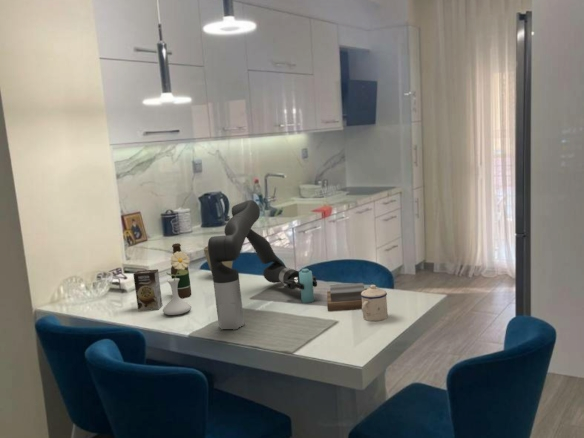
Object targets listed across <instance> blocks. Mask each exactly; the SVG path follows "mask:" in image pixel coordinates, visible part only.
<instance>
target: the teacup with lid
mask: <svg viewBox="0 0 584 438" xmlns="http://www.w3.org/2000/svg"><path fill="white" fill-rule="evenodd" d="M387 295H388V294H387V291H386V290H385V289H383V288H382V289H381V288H379V287H377V285H375V284H371V285H370V286H369V287H368V288H367V290H364V291H363V292H362V293H361V297H362V309H361V312H362V318H363V319H364V320H366V321H369V322H381V321H384V320H386V319H387V318H388V317H389V316H388V301H387Z"/></svg>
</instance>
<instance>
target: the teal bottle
mask: <svg viewBox="0 0 584 438" xmlns="http://www.w3.org/2000/svg"><path fill="white" fill-rule="evenodd" d="M312 275H313V271H312V270H309V268H302V269H301V270H300V271H299V280H300V283H302V284H303V285H304V290H301V289H299V291H300V298H301V303H304V304H309V303H313V302H315V293H314V292H315V291H314V286H313V279H312Z"/></svg>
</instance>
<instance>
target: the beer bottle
mask: <svg viewBox="0 0 584 438" xmlns="http://www.w3.org/2000/svg"><path fill="white" fill-rule="evenodd" d="M181 245H182V244H180V243H173V244H172V255H174V253H176V252H177V251H178V252H180V251H181V252H182V249H181ZM180 270H181V269H180ZM185 270H187V271H188V272H189V266H188V267H187V268H185ZM177 271H178V269H175V268H174V267H173V266H172V265H171V267H170V274H174V275H175V276H176V274H177V276H176V278H179V279H180V280H179V282H178V286H177V290H178V295H179V297H180V298H181V299H182V300H183V299H186V298H190V297H191V296H192V286H191V280H190V279H191V277H190V272H189V273H187V274H185V275H181V274H179V273H177ZM175 276H170V277H171V279H173V278H175Z"/></svg>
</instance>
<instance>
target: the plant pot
mask: <svg viewBox="0 0 584 438" xmlns="http://www.w3.org/2000/svg"><path fill="white" fill-rule="evenodd" d="M203 251H204V255H205V259H206V262H207V264H208V268H209V271H210V272H211V273H212V270H211V264H210V258H209V252H208V245H207V246H204V247H203ZM233 262H234V261H226V262H222V263H223V264H224V265H225V266H227V267H229V268H232V269H233V264H234V263H233Z"/></svg>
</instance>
